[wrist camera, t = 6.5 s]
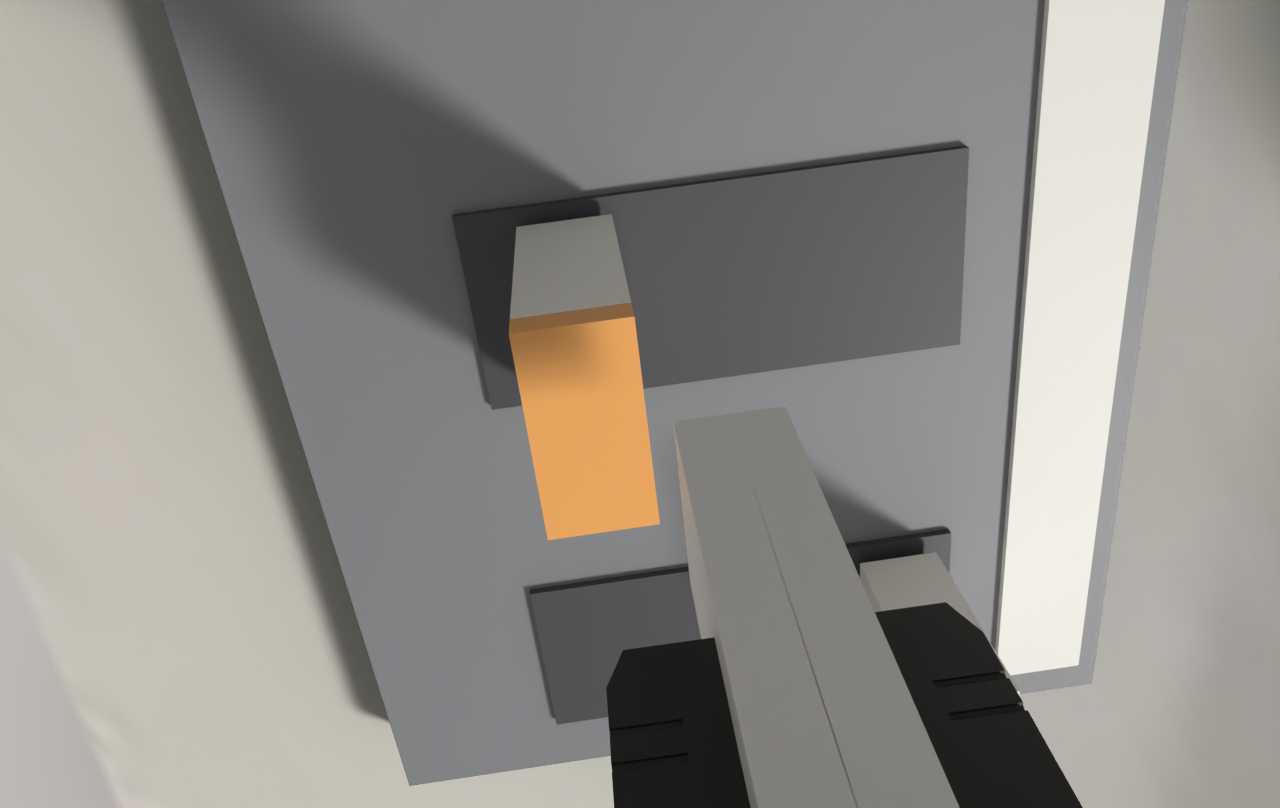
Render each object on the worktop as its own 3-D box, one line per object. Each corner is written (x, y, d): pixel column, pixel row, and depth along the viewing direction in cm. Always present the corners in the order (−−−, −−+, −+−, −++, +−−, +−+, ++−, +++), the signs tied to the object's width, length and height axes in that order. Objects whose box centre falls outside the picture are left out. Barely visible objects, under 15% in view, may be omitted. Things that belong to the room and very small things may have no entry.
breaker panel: (64, -445, 17) (2, -488, 15) (1201, -574, 17) (1283, -634, 15) (417, 733, 30) (408, 791, 28) (1059, 637, 31) (1095, 688, 29)
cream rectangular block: (859, 563, 25) (927, 705, 21) (936, 552, 25) (1019, 691, 21) (860, 679, 27) (922, 832, 23) (931, 668, 27) (1007, 818, 23)
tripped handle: (516, 226, 20) (509, 334, 15) (611, 213, 20) (634, 316, 16) (546, 396, 22) (547, 540, 17) (633, 384, 22) (659, 524, 17)
